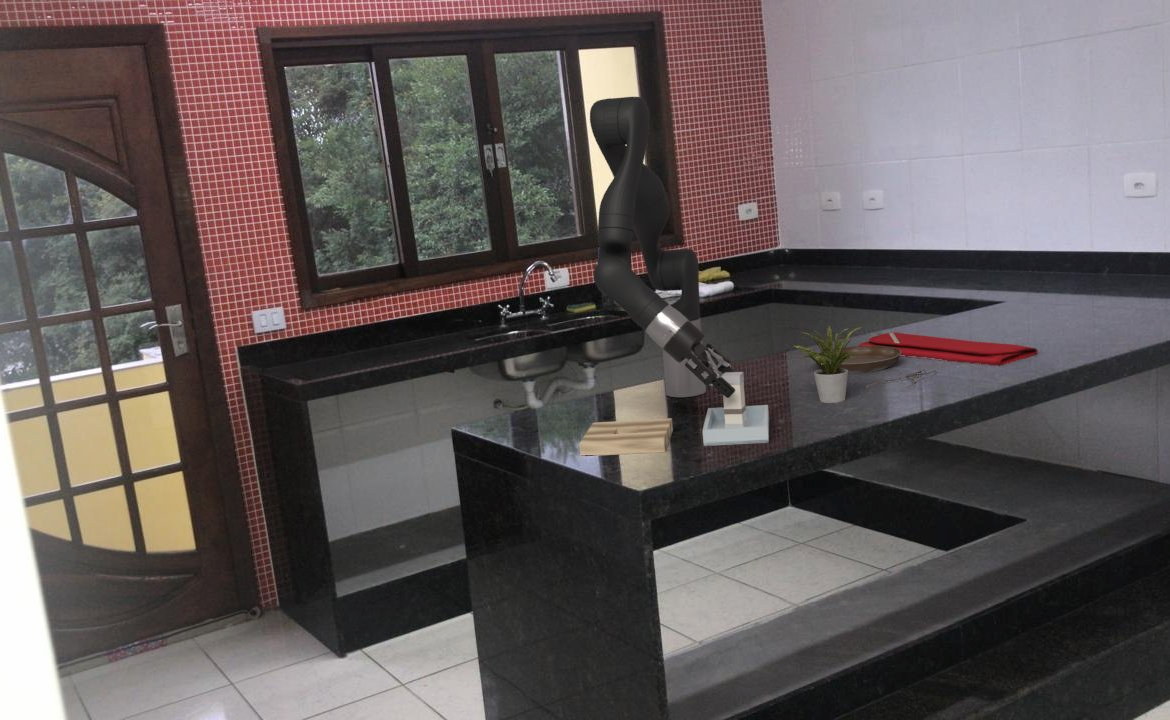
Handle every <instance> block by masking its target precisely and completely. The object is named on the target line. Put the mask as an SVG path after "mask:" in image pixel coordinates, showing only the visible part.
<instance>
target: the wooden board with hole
mask: <svg viewBox="0 0 1170 720" xmlns="http://www.w3.org/2000/svg"><path fill="white" fill-rule="evenodd" d="M673 431H674V428H673V418H671V417H670V418H657V419H654V418H652V419H637V420H635V419H634V420H617V421H602V422H601V421H599V422H592V424H591V425H590V427H589V429H588V430H587V431H586V432H585V434H584V436H583V437H582V439H581V440H580V442H579V443H578V444H579V454H580V456H581V455H597V456H611V455H612V456H613V455H614V456H615V455H636V454H637V455H638V454H654V453H655V454H657V453H658V454H659V453H666V450H667V448H668V444H669V442H670V440H671V436H672V433H673Z"/></svg>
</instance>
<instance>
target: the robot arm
mask: <svg viewBox="0 0 1170 720" xmlns="http://www.w3.org/2000/svg"><path fill="white" fill-rule="evenodd" d="M650 120H651V116H650V109H649V107H648V104H647V102H646V100H645V99H644V98H642V97H641V96H624V97H613V98H611V97H610V98H603V99H599V100H596V101H595V102H594V103H593V104H592V105H591V107H590V111H589V123H590V124H589V125H590V128H591V131H592V135H593V137H594V139H595V142H596V144H597V146H598V148H599V150H600V152H601V153H602V156H603V158H604V160H605V161H606V163H607V165H608V168H609V169H610V172H611V173H612V176H613V179H612V180H611V182H610V183H609V185H608V187H607V189H606V190H605V192H604V194H603V196H602V198H601V201H600V205H599V210H598V222H597V244H598V256H597V264H596V266H594V269H593V281H594V284H595V286H596V287H597V289H598V291H599V292H600V293H601V294H602V295H603V296H605V297H609V298H610V299H611V300H612V301H614V302H615V304H617V305H618V306H619V307H621V308H622V309H623V310H624V311H625V312H626V313H627V315H628V317H629V318H631V320H632V321H633V322H634V323H635V324H637V325H638V327H640V328H641V329H642V330H643V331H645V333H646V334H648V336H649V338H650V339H652V340H653V342H654V343H656V344H657V345H658V346H659V347H660V348H661V350H662V358H663V359H662V360H663V361H662V362H663V370H664V372H663V373H664V383H665V395H666V396H668V397H671V398H689V397H697V396H700V395H704V394H705V393H707V387H708V386H711V387H714V388H715V389H716V390H717V391H718V392H719V393H721V394H722V396H723V395H724V396H725V397H726V398H729V397H730V396H731V395H732V394H733V393H734V392H735V388H733V387H732V386H731V385H730V384H729V383H728V382H727V381H726V380H725V379H723V378H722V377H721V376H722V375H723V374H724V373H725V372H736V370H734V369H733V368H732V365H731V360H730V359H728V357H726V355H724V354H723V353H722V352H721V351H719V350H718V349H717V348H716V347H715V346H714V345H712V344H711V343H710V342H708V343H706V345H704V344H703V339H704V338H705V333H704V332H703V331H702V323H701V311H700V310H701V303H700V301H701V300H700V298H701V297H700V281H699V280H700V279H699V278H700V277H699V276H700V275H699V274H700V271H699V269H700V268H699V261H698V257H697V254H696V252H695V251H694V250H693V249H691V248H682V249H665V250H664V249H662V248H661V246H660V243H659V241H660V239H661V238H660V237H661V236H662V233H663V231H664V228H665V226H666V224H667V222H668V220H669V217H670V214H671V213H670V212H671V206H670V201H669V197H668V195H667V192H666V191H667V190H665V189H666V188H665V186H664V183H663V181H662V180H661V178H660V177H659V176H658V175H657V174H656V173H655V172H654V171H653V170H652V169H651V168H649V167H648V166H647V165H646V164H644V160H645V156H646V151H647V147H648V139H649V135H650V127H651V125H650V124H651V121H650ZM634 233H635V235H636V238H637V241H638V243H639V247H640V251H641V254H642V258H643V261H644V265H645V268H646V272H647V275H648V279H649V282H650V283H651V285H652V287H653V288H654V289H655V290H657V291H661V292H670V291H681V295H680V298H679V299H678V300H676V301H675V302H673V303H671V304H669V303H668V302H666V300H665V299H664V298H663V297H662V296H660V295H659V294H658V293H657V292H656V291H654V290H653V289H651V288H650V287H649V286H648V285H647V284H646V283H645V281H643V280H642V279H641V278H640V277H639V276H638V275H637V273H636V272H635V271H634V270H633V269H632V243H633V238H634ZM706 386H707V387H706Z"/></svg>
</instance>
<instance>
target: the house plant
mask: <svg viewBox="0 0 1170 720" xmlns="http://www.w3.org/2000/svg"><path fill="white" fill-rule="evenodd" d="M862 328H863V326H861V327H856V328H854V329H852V330H850V331H849V332H848V333H847V334H846V335H845V337H844V338H843V339H841V340H839V338H840V336H841V334H842V333H843V332H844V331H846V330H849V328H848V327H847V328H845V329H843V330H841V331H840V333H839V332H837V333H835V336H834V337H835V338H834V341H833V337H832V336H833V333H832V332H833V331H832V329H831V326H830V325H827V332H826V340H825V338H824V337H823V336H822V335H821V334H820V333H819V331H817V330H815V329H814V328H812V330H813V331H814V332H815V333H816V334H817V335H818V336H819V337H820V339H819V338H818V337H817V336H816V335H814V334H812V333H808V332H804V331H803V332H802V331H801V333H802V334H806V335H808V336H809V337H810V338H811V339H812V340H814V342H815V343H816V345H817V346H818V348H819V350H818V352H819V353H822V354H823V355H822V354H821V355H822V356H824V357H821V356H820V355H819V354H818V353H817V352H816V351H814V349H813V350H812V349H810V348H808V347H805V346H801V345H793V347H794V348H797V349H799V350H800V351H801V352H803V353H806V354H807V355H805V356H802V357H800V358H799V359H798V361H800V360H802V359H805V358H806V359H807V358H811V359H812V360H813V361H814V362H815V363H816V365H817V366H819V367H820V368H821V369H817V370H814V372H813V377H814V379H815V384H816V389H817V394H818V397H819V402H821V403H825V404H833V403H834V404H837V403H842V402H845V400H846V393H847V385H848V384H847V383H848V376H849V375H848V374H849V373H848V370H847V369H842V368H840V366H841V364H842V363H843V362H844V361H846V360H848V359H850V358H854V357H852V356H850V357H848V356H846V355H848V354H850V353H855V352H845V353H843V354H842V352H843V350H844V348H845V347H847V345H848V344H849V343H850V342H851V340H852V339H853V338H854V337H855V335H853V334H854V333H855V331H857V330H860V329H862ZM852 335H853V336H852ZM808 336H806V337H807V338H808ZM851 336H852V337H851ZM806 337H805V340H807V342H810V343H811V341H810V340H809V339H807V338H806ZM850 337H851V338H850ZM801 338H802V339H804V337H802V336H801ZM848 339H849V340H848ZM838 340H839V341H838ZM847 341H848V342H847ZM846 342H847V343H846ZM833 343H834V344H833ZM816 345H814V347H815V348H816V349H818V348H817V347H816ZM839 348H840V349H839ZM833 349H834V352H833ZM842 349H843V350H842ZM838 350H839V351H838ZM841 354H842V355H841ZM855 354H856V353H855ZM856 355H857V354H856ZM825 360H826V361H825Z"/></svg>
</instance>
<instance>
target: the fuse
mask: <svg viewBox="0 0 1170 720" xmlns="http://www.w3.org/2000/svg"><path fill="white" fill-rule="evenodd" d="M744 374H745V373H744V371H735V372H725V373H724V374H723V375H720V376H721V377H722V378H723V379H725V380H726V381H727V382H728V383H729V384H730V385H731V386H732V387H733V388H735V392H734V393H733V394H732V395H731V396H730V397H729V398H726V397H725V396H724V395H723V394H722V400H723V407H724V414H725V428H739V427H747V419H746V406H747V405H746V395H745V383H744V382H745V375H744ZM721 377H720V378H721Z"/></svg>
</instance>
